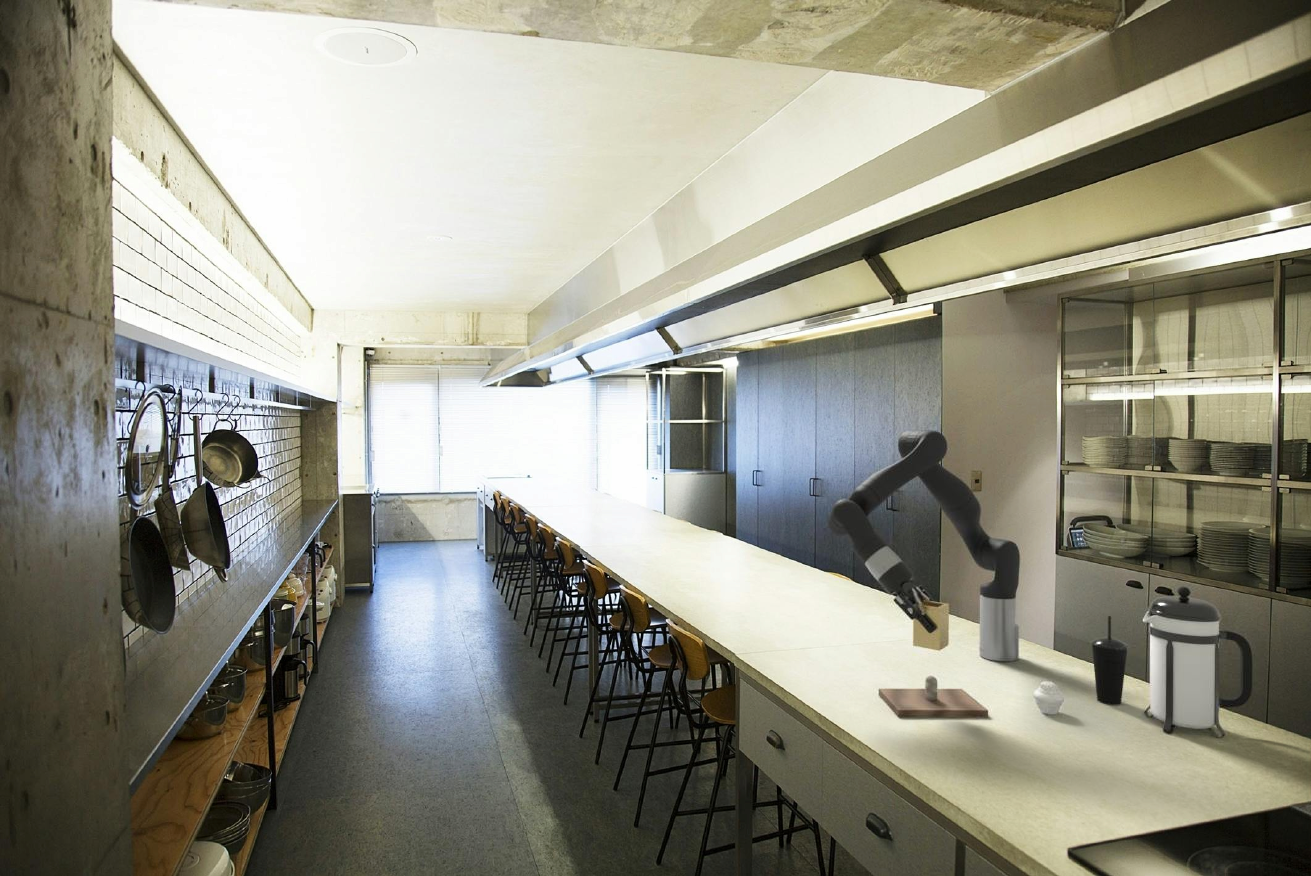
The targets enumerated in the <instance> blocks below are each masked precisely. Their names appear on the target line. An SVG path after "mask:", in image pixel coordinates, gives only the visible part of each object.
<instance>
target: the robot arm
mask: <svg viewBox="0 0 1311 876" xmlns="http://www.w3.org/2000/svg"><path fill="white" fill-rule="evenodd" d="M947 442H948V441H947V439H946V437H945V436H944V434H942V433H941V432H940V431H937V430H931V429H911V430H907V431H904V432H903V433H902V434H900V436H899V438H898V441H897V450H898V453H899V455H900V457H901V459H900V460H898V461H896V462H894V463H892V464H890V465H888V466H886V467H884V468H882V469H879V470H878V471H876V472H874V473H873V474H871V475H870V476H869V477H867V478H865V480H864V481H863V482H862V483H861V484H860V485H858V486H857V487H856V488H855V490H854V491H853V492H852V493H851V495H850V496H849V498H843V499H840V500H837V501H836V502H835V504H834V505H833V506H832V508H831V510H830V513H829V515H828V519H827V526H828V529H829V531H830V532H831V533H832V534H833V535H835V536H839V537H846V536H849V538H850V539H851V548H852V550H853V552H854V553H855V554H856V555H857V557H858V559H860V560H861V562H862V563H863V564H864V565H865V567H866V568H867V569H868V571H869V572H870V574H871V575H872V576H873V578H874V579H875V580H876V581H877V582H878V584H879V585H880V586H881V587H882V588H883V590H885V592H886V593H887V594H888V595H890V596H892V595H893V596H894V594H896V595H897V596H896V597H894V599H893V602H894V603H895V604H896V605H897V606H898V607H899V608H900V609H901V610H902V611H903V612H904V614H905V615H907V617H908V618H909V619H910V620H911V621H913V619H915V620H917V621H918V620H919V622H920V623H921V624H922V626H923V627H924V628H925V629H926V630H927V631H928V633H932V632H933V631H935V630H936V629H937V627H936V625H935V624H934V623H933V622H932V621H931V619H930V618H929V617H928V616H927V615H925V612H924V611H923V610H922V608H921V607H920V605H922V603H921V602H923V601H924V600H925V602H926V601H928V602H930V601H932V602H936V600H935V599H934V598H933V596H932V595H931V594H930V593H929V591H928V590H927V588H926V587H924V585H923V584H920V585H919V586H917V585H915V583H913V579H914V578H915V574H914V573H913V572H912V570H911V569H910V568H909V567H908V566H907V565H906V563H904V561H903V560H902V559H901V558H900V557H899V555H897V554H896V552H894V551H893V549H891V548H890V547H889V546H888V544H887V543H885V541H884V540H883V539H882V538H881V537H880V535H878V533H877V532H876V530H875V529H874V527H873V524H872V523H871V521H870V520H869V516H870V515H871V513H873V512H874V511H875V510H876V509H878V508H879V507H880V506H881V505H882V504H883V503H884V502H885V501H887V500H888V499H889V498H890V497H891V496H892V495H893V494H895V493H896V492H897V491H898V490H900V489H901V488H902V487H904V485H906V484H907V483H909V482H911V481H912V480H914V479H916V477H918V478H919V479H920V481H921V482H922V483H923V485H924V486H925V487H926V488H927V490H928V491H929V493H930V494H931V495H932V497H933V499H934V500H935V501H936V503H937V505H938V506H939V507H940V510H942V512H943V513H944V514H945V516H946V518H948V520H949V521H950V523H951V524H952V525H953V527H954V529H955V530H956V532H957V533H958V535H959V536H960V537H961V539H962V540H963V542H964V544H965V546H966V548H967V549H968V552H969V554H970V556H971V557H972V559H973V561H974V562H975V564H976V565H977V566H978V567H979V568H980V569H983V570H986V571H989V572H994V577H993V580H992V581H988V582H984V583H982V584H981V585H980V586H979V656H980V657H981V658H984V659H987V660H990V661H997V662H1012V661H1017V660H1018V661H1019V660H1020V659H1019V657H1020V656H1019V655H1020V651H1019V650H1020V649H1019V647H1020V645H1019V644H1020V643H1019V642H1020V641H1019V640H1020V628H1019V627H1020V626H1019V625H1018V624H1016V623H1017V621H1016V620H1017V619H1016V618H1017V615H1016V612H1017V610H1016V609H1017V608H1016V606H1017V605H1016V604H1017V602H1016V601H1017V598H1016V597H1017V590H1018V587H1019V584H1020V583H1019V579H1020V565H1021V564H1020V563H1021V555H1020V549H1019V547H1018V545H1017V544H1016V543H1015V542H1014V541H1013V540H1012V541H1011V540H1009V539H1000V538H995V537H991V536H990V535H988V534H987V532H986V531H985V530H984V529H983V527H982V525H981V522H980V521H981V517H982V516H981V515H982V513H981V512H982V511H981V510H982V508H981V503H980V501H979V500H978V498H977V496H976V494H974V492H973V490H971V488H970V487H969V485H967V483H966V482H965V481H963V480H962V479H961V478H959V476H957V475H955V474H954V473H952V472H950V470H948V469H946V468H945V467H944V466H943V465H941V463H940V462H942V460H943V459H944V458H945V457H946V455H947V451H948V443H947ZM913 604H914V605H913ZM917 608H918V609H917Z"/></svg>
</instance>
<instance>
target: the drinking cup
mask: <svg viewBox="0 0 1311 876" xmlns="http://www.w3.org/2000/svg"><path fill="white" fill-rule="evenodd" d="M1090 645H1091V648H1092V650H1091V651H1092V659H1093V669H1094V670H1093V671H1094V679H1095V680H1094V681H1095V690H1096V700H1097V702H1099V703H1102V704H1105V705H1108V706H1109V705H1111V706H1119V705H1121V704H1122V698H1123V692H1124V691H1123V689H1124V682H1125V681H1124V680H1125V673H1126V672H1125V671H1126V663H1127V662H1126V661H1127V655H1128V649H1129V647H1130V646H1129V644H1128V643H1126V642H1124V641H1122V640H1119V639H1117V638H1113V637H1112V615H1107V636H1105V637H1103V636H1101V637H1097V638H1094V639H1091V640H1090Z"/></svg>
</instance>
